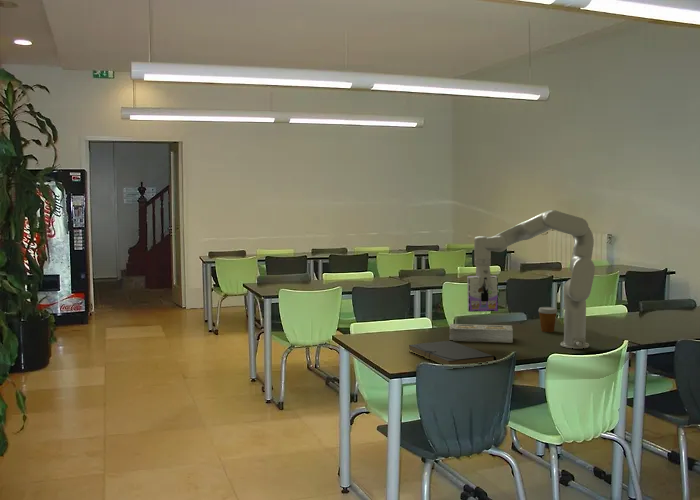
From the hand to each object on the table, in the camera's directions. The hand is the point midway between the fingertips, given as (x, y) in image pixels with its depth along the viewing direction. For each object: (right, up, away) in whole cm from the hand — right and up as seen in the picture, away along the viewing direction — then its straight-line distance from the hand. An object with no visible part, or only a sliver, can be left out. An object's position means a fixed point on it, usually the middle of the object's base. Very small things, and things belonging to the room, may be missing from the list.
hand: (482, 299), depth 316 cm
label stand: (+2, -20, +13) cm, 24 cm away
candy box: (0, -5, +1) cm, 5 cm away
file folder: (-18, -24, -22) cm, 38 cm away
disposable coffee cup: (+40, -19, +31) cm, 53 cm away
